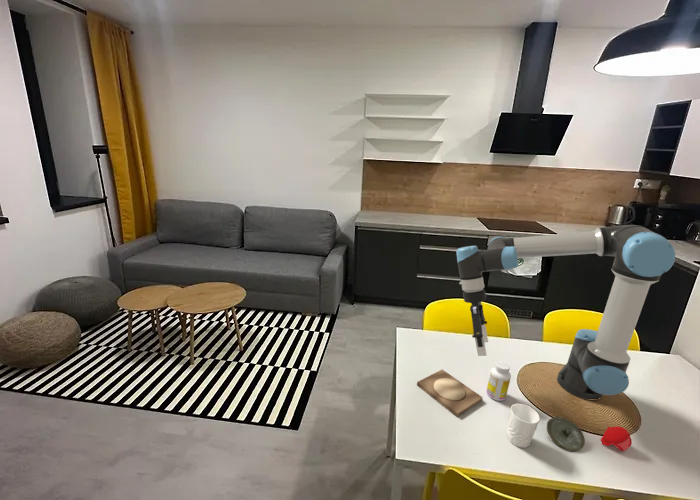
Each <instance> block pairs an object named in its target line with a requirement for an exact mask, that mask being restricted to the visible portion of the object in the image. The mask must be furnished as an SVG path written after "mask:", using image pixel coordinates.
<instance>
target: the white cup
mask: <svg viewBox="0 0 700 500" xmlns="http://www.w3.org/2000/svg"><path fill="white" fill-rule="evenodd" d="M540 420H541V419H540V415H539V414H538V412H537V411H536V410H535V409H534V408H532V407H531V406H529V405H526V404H524V403H515V404H512V405H511V406H510V411H509V415H508V422H507V427H506V434H505V436H506V438H507V440H508V441H509V443H511V444H512V445H514V446H516V447H518V448H521V449H525V448H527V447H529V446H530V444H531V442H532V440H533V438H534V435H535V432H536V430H537V427H538V424H539V422H540Z"/></svg>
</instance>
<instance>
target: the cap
mask: <svg viewBox="0 0 700 500" xmlns="http://www.w3.org/2000/svg"><path fill="white" fill-rule="evenodd" d="M632 441H633V440H632V437H631V433H629V431H628V430H627V429H626V428H624V427H622V426H608V427H607V429H606V430H605V431H604V432H603V435H602V436H601V438H600V443H601V442H602V443H601V445H603V446H605V447H606V446H607V447H608V446H612V445H613V446H614V447H616V449H618V451H620V450H621V451H623V452H625V451H627V450H628V449H629V448H630V447H631V446H632V443H633V442H632ZM621 451H620V452H621Z"/></svg>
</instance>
